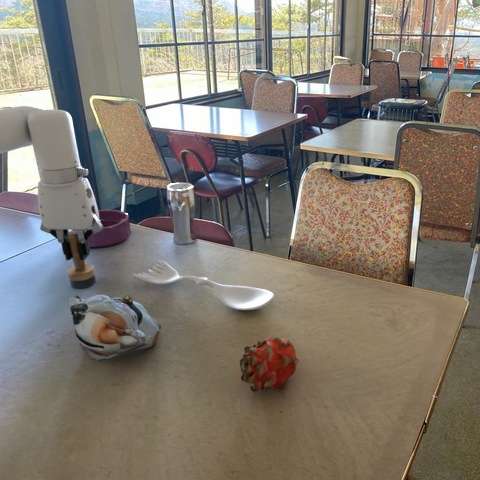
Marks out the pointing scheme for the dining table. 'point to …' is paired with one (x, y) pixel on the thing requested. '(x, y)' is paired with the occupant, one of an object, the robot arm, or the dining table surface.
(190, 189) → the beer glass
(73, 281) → the dish brush
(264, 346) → the dragon fruit
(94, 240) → the bowl
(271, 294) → the spoon
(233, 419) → the dining table surface
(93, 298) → the lucky cat figurine
